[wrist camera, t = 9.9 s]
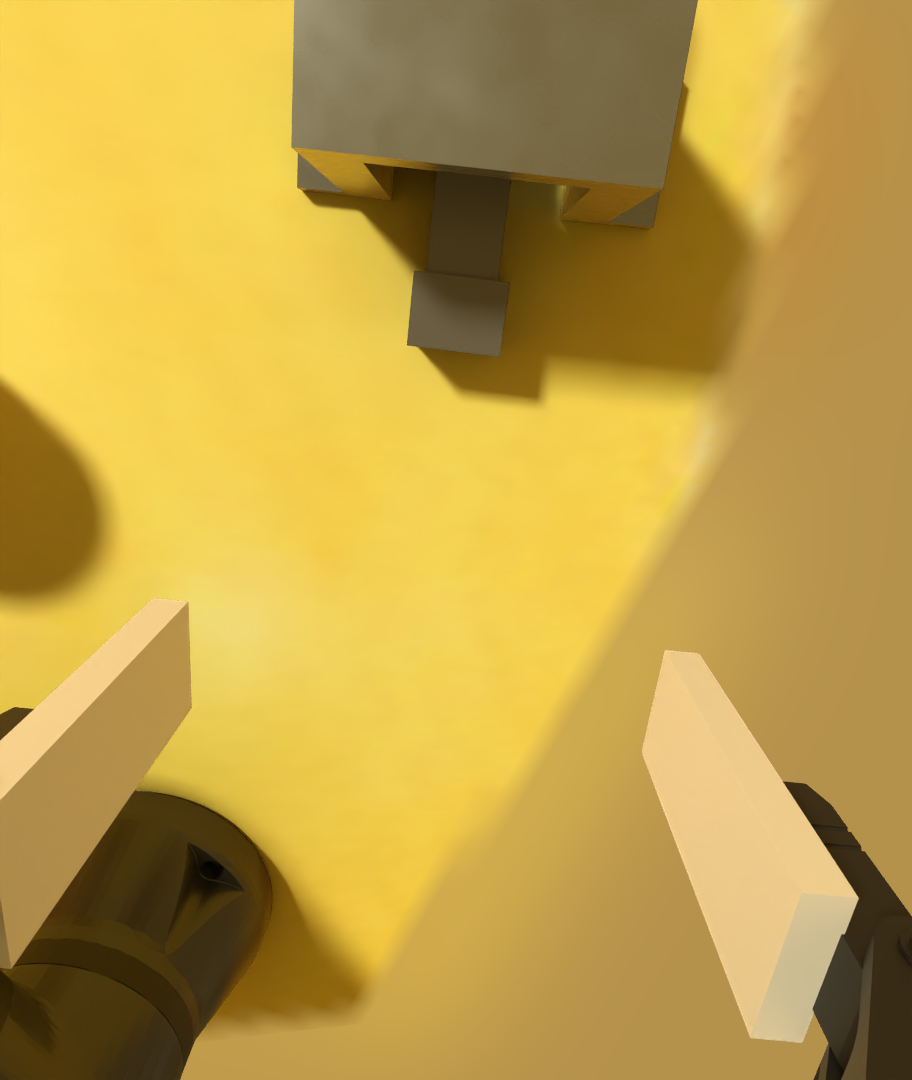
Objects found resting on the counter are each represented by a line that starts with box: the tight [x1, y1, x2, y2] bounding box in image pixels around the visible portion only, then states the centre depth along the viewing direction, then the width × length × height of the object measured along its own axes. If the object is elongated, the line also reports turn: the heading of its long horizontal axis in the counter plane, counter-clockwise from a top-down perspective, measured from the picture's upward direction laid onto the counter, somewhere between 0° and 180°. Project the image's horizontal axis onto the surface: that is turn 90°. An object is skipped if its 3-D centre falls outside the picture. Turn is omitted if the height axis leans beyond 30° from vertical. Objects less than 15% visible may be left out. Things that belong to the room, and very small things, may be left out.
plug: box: [407, 171, 511, 357], centre depth 26 cm, size 5×18×7 cm, turn 173°
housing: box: [292, 0, 698, 229], centre depth 24 cm, size 16×6×10 cm, turn 84°
